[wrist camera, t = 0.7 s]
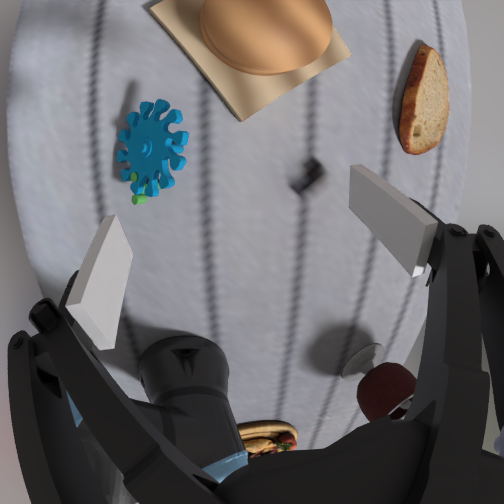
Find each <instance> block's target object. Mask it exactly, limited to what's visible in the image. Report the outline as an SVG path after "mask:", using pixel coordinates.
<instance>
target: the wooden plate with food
mask: <svg viewBox="0 0 504 504" xmlns="http://www.w3.org/2000/svg"><path fill="white" fill-rule="evenodd" d="M237 427H238V430H239V432H240V435H241V438H242V441H243V443H244V446H245V448H246V450H247V452H248V455H247V456H248V458H252V457H257V456H262V455H267V454H272V453H276V452H280V451H287V450H288V451H290V450H293V449H295V448H296V446H297V442H296V440H297V438H298V432H297V430H296V429H295V428H294V427H293V426H292V425H290V424H287V423H284V422H276V421H265V422H255V423H248V424H243V425H238V426H237Z"/></svg>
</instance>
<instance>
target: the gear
mask: <svg viewBox="0 0 504 504" xmlns="http://www.w3.org/2000/svg"><path fill="white" fill-rule="evenodd" d="M153 108H154V110H153ZM169 108H170V104H169V103H168V102H167V101H165V100H162V99H158V100H157V101H156V103H155V107H154V103H152V102H141V104H140V114H139V113H138V112H131V113H130V114H129V115H128V116H127V122H128V123H129V125H130V129H131V133H130V131H129V130H121V132H120V134H119V136H118V139H119V141H122V142H124V143H125V144H126V146H127V148H128V152H127V151H126V150H119V151H118V152H117V161H118V162H125V161H129V162H130V164H131V168H130V169H123V170H122V171H121V177H122V180H123V181H130V180H131V181H132V182H133V183H132V184H131V186H130V188H131V190H132V192H133V193H134V194H135V195H133V196H132V203H133V204H134V205H136V204H142V203H145V202H146V201H147V196H149V197H154V196H158V194H159V189H165V188H170V187H172V186H173V185H175V181H174V178H173V177H172V176H171V174H170V172H169V168H168V159H170V166H171V168H172V170H181V169H182V168H183V167H184V165H185V163H186V159H185V157H183V156H179V155H178V154H176V153H182V152H183V150H184V147H183V145H187V142H188V137H189V133H188V132H186V131H177V132H175V133H170V132H169V131H168V126H169V124H170V123H176V124H179V123H181V122H182V120H183V117H182V113H181V111H180V110H176V109H172V110H171V111H170V112H169V113H168V115H167V116H166V117H165V118H164V119H162V120H159V118H160V115H161V114H162V113H164V112H166V111H168V109H169ZM152 110H153V112H152V114H151V115H150V117H149V118H148V116H149V114H150V112H151V111H152ZM139 118H140V119H139ZM138 122H139V123H138ZM172 140H173V141H174V143H175V144H171V142H172ZM159 173H161V177H160V180H159V182H158V177H159Z"/></svg>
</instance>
